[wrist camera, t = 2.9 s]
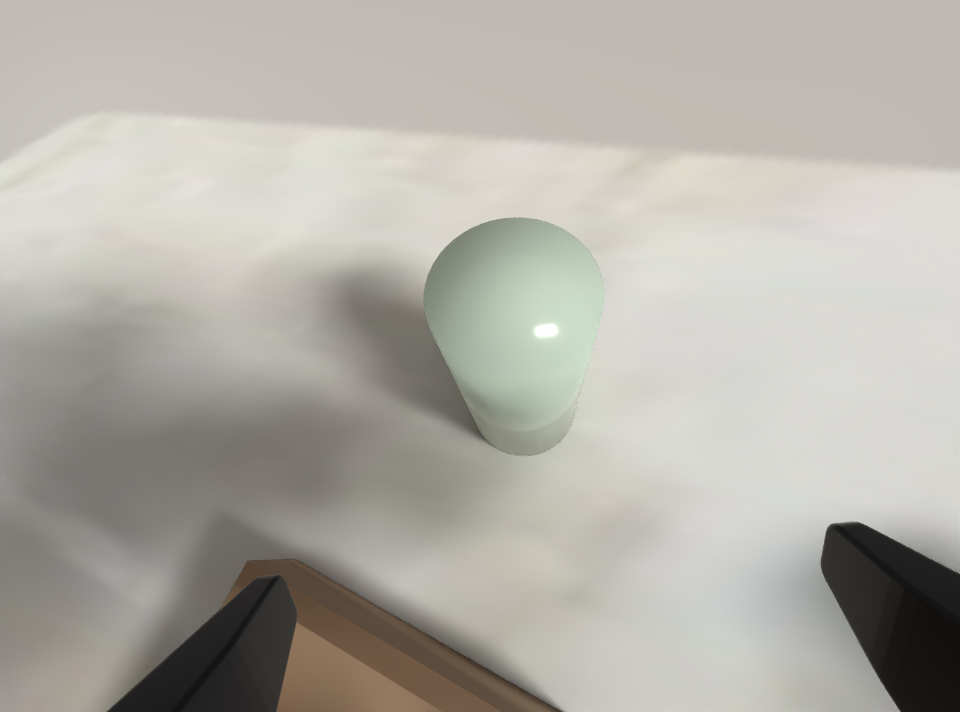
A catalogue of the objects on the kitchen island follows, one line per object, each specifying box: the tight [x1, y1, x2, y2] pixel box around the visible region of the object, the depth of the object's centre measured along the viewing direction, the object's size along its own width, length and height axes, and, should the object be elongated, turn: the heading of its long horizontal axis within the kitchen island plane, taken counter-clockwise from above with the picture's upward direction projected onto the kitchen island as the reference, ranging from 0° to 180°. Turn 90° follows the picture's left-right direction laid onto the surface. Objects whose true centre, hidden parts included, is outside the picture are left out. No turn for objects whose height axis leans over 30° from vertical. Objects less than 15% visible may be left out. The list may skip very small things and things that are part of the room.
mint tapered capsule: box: [424, 218, 604, 456], centre depth 17 cm, size 4×4×10 cm
